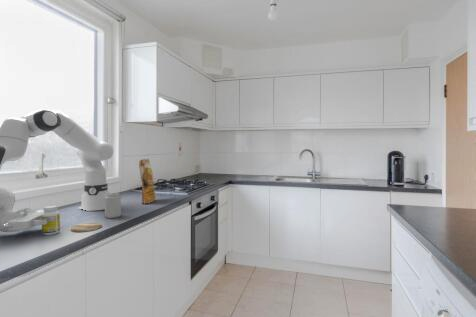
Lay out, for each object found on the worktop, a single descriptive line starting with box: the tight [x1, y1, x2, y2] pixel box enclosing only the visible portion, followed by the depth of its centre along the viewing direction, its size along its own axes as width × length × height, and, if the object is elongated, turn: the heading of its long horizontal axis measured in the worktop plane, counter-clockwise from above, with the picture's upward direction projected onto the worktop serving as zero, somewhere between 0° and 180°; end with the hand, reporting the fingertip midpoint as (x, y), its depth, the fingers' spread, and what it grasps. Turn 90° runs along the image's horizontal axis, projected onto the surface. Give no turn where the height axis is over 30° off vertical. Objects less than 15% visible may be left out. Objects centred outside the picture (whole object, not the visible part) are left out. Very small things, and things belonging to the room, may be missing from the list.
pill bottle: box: [41, 205, 61, 236], centre depth 114 cm, size 6×6×11 cm
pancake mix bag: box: [138, 158, 157, 204], centre depth 179 cm, size 7×19×28 cm, turn 174°
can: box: [104, 192, 122, 219], centre depth 141 cm, size 8×8×12 cm
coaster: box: [70, 222, 103, 233], centre depth 122 cm, size 12×12×1 cm
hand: (53, 218), depth 115 cm, fingers open, 8 cm apart
